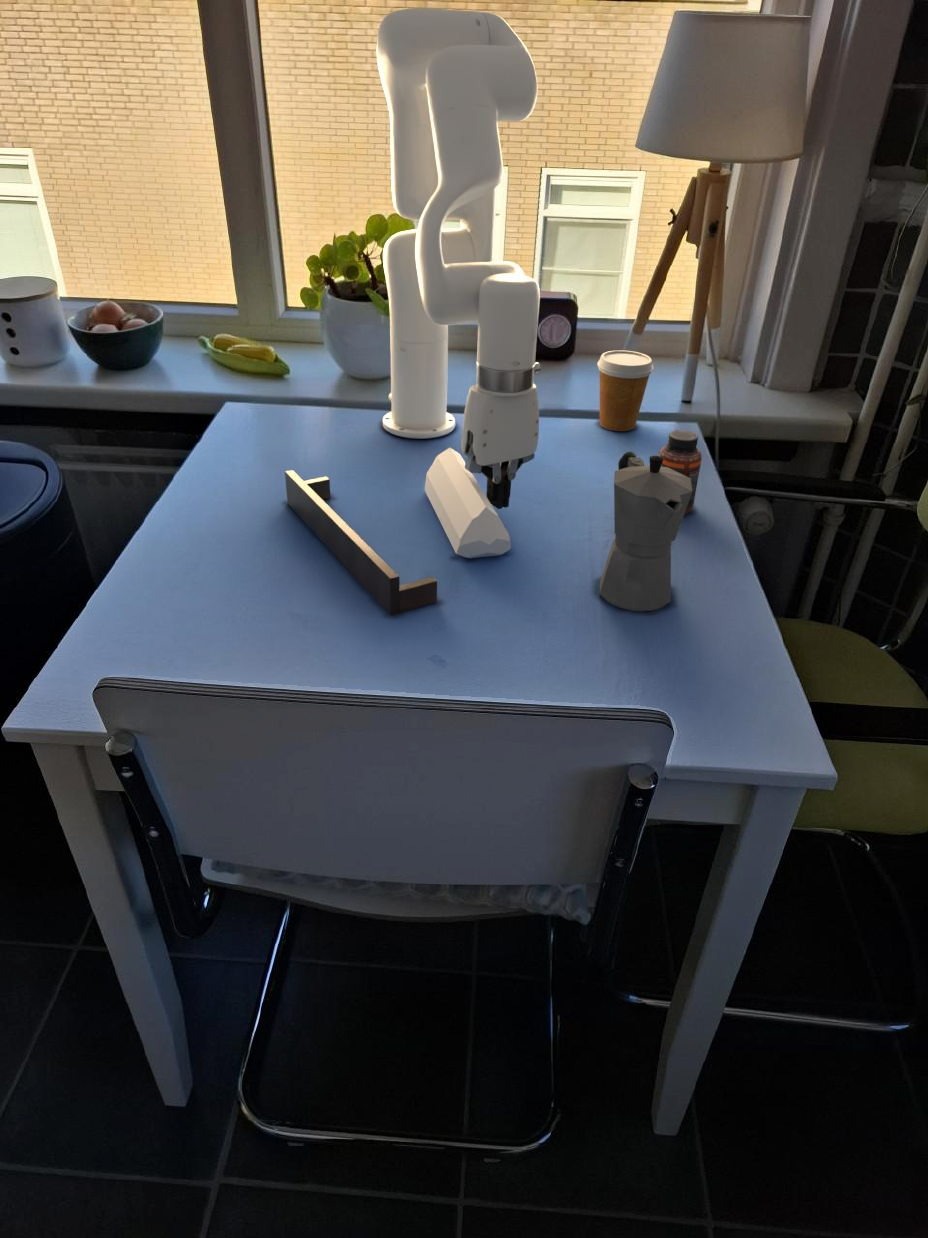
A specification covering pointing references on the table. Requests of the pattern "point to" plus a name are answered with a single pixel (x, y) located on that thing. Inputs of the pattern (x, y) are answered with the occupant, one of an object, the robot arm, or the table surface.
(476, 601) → the table surface
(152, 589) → the table surface
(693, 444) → the supplement bottle
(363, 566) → the frame
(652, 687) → the table surface
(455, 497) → the crystal
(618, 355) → the disposable coffee cup
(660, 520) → the coffeepot
